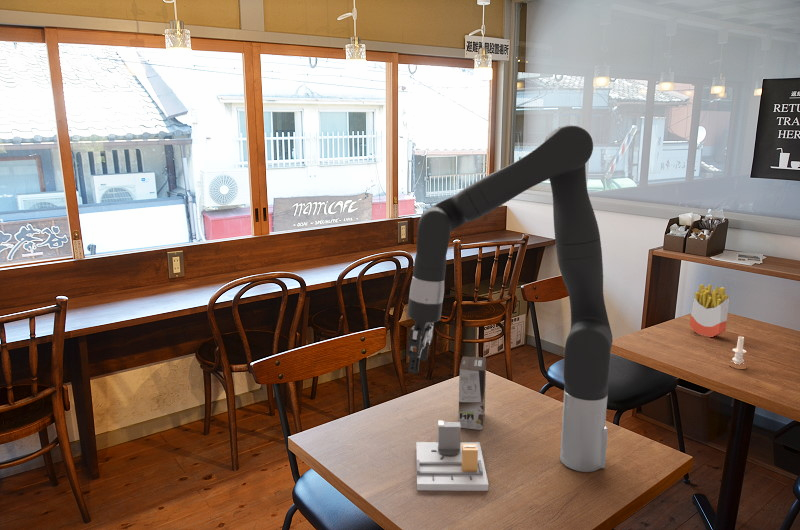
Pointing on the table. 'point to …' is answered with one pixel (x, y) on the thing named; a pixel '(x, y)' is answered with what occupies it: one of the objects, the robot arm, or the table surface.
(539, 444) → the table surface
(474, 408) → the coffee box
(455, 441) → the selector knob
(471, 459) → the fader
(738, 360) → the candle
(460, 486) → the board
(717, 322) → the french fries container
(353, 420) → the table surface
